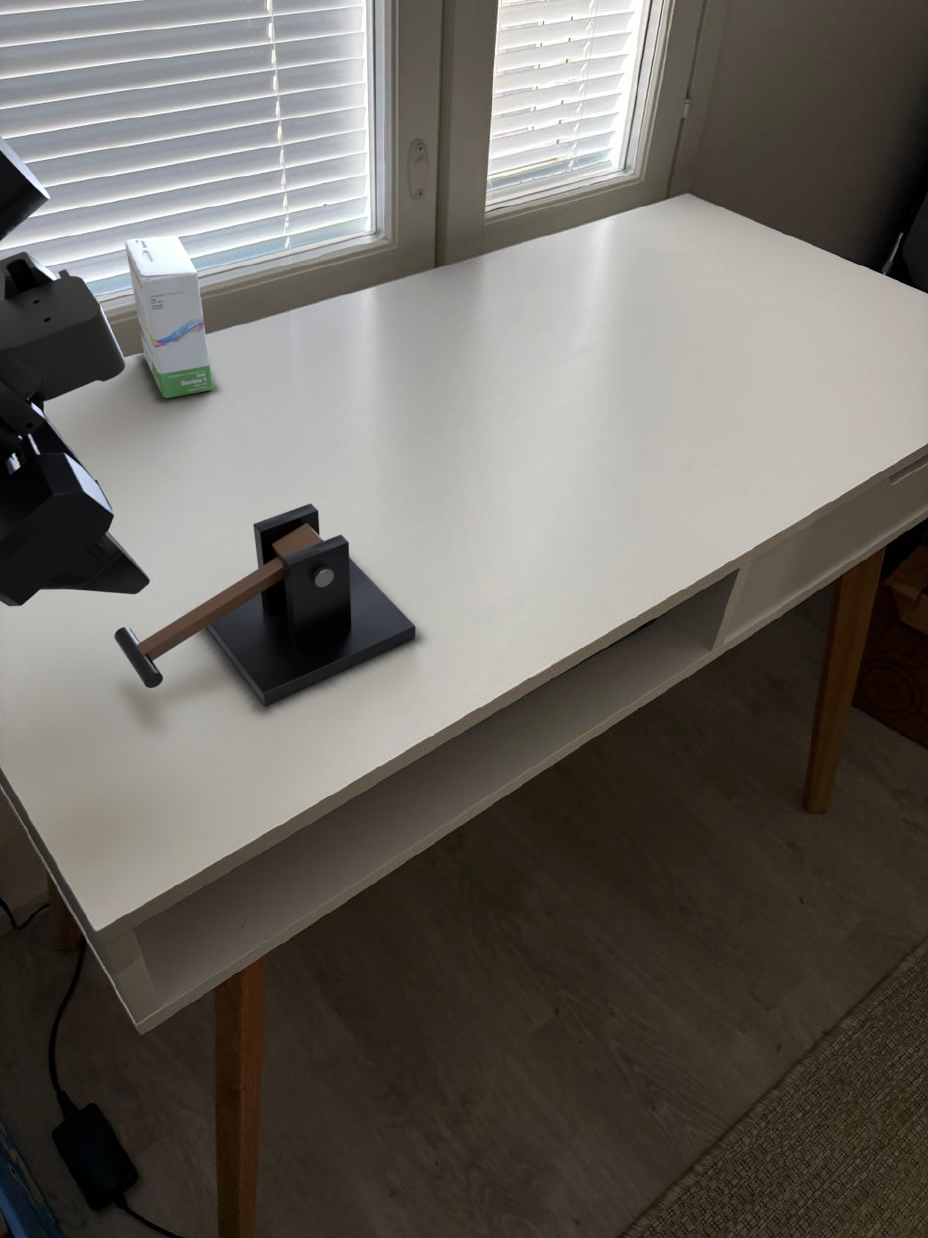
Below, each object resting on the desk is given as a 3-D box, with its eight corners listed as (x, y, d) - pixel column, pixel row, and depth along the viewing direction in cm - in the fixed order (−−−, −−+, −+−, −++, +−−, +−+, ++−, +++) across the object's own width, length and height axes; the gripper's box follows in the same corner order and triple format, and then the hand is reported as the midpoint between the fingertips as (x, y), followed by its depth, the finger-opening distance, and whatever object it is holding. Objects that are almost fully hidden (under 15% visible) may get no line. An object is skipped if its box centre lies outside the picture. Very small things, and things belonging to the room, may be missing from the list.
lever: (153, 696, 64) (137, 675, 62) (122, 649, 67) (106, 628, 65) (343, 574, 68) (333, 551, 66) (306, 535, 70) (296, 511, 69)
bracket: (265, 706, 67) (253, 609, 61) (200, 619, 73) (183, 522, 67) (415, 638, 72) (418, 543, 66) (344, 562, 78) (340, 467, 72)
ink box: (215, 391, 95) (199, 270, 87) (162, 400, 93) (141, 278, 85) (193, 348, 101) (177, 231, 93) (143, 356, 99) (121, 238, 91)
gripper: (67, 315, 37) (295, 536, 50) (-34, 154, 49) (172, 366, 61) (-158, 511, 38) (125, 683, 50) (-206, 305, 49) (34, 485, 61)
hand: (117, 537), depth 56 cm, fingers open, 9 cm apart
